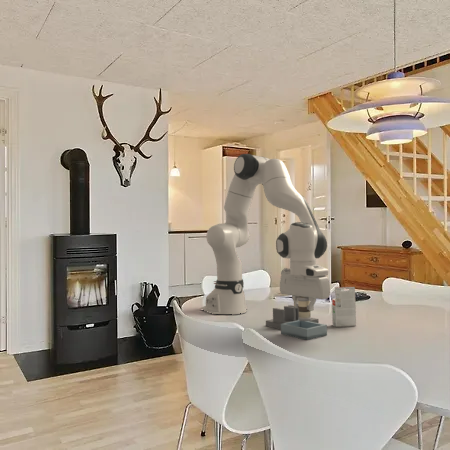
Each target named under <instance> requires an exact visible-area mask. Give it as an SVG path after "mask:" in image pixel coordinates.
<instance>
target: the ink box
mask: <svg viewBox="0 0 450 450" xmlns="http://www.w3.org/2000/svg"><path fill="white" fill-rule="evenodd" d="M334 289H335V292H334V293H335V298H331V302H332V303H331V304H332V305H331V308H332V311H331V313H332V317H331V318H332V320H331V321H332V326H333V327H336V328H343V327H344V328H345V327H356V326H357V311H356V309H357V308H356V307H357V305H356V287H355V286H342V287H341V286H336V287H334ZM345 289H346V290H345Z"/></svg>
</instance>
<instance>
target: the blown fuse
mask: <svg viewBox="0 0 450 450" xmlns="http://www.w3.org/2000/svg"><path fill="white" fill-rule="evenodd" d="M309 303H310V301H309V297H301V296H299V297H298V311H299V321H310V320H311V318H312V317H311V311H308V310H307V305H309Z"/></svg>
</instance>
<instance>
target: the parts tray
mask: <svg viewBox="0 0 450 450" xmlns="http://www.w3.org/2000/svg"><path fill="white" fill-rule="evenodd" d="M280 334H281V335H284V336H287V337H288V336H289V337H292V338H297V339H301V340H304V341H309V340H314V339H317V338H321V337H326V336H327V335H328V325H327V324H324V323H315V322H310V321H299V320H297V321H292V322H288V323H283V324H281V329H280Z"/></svg>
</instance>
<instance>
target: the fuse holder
mask: <svg viewBox="0 0 450 450" xmlns="http://www.w3.org/2000/svg"><path fill="white" fill-rule="evenodd" d="M297 320H299V311H298V309H296V308H295V306H294V305H289V304H288V305H284V306H283V308H278V307H273V308H272V319H266V320H265V327H269V328H273V329H277V330H281V324H283V323H288V322H292V321H297ZM310 322H315V323H319V318H315V317H311V320H310Z"/></svg>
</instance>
